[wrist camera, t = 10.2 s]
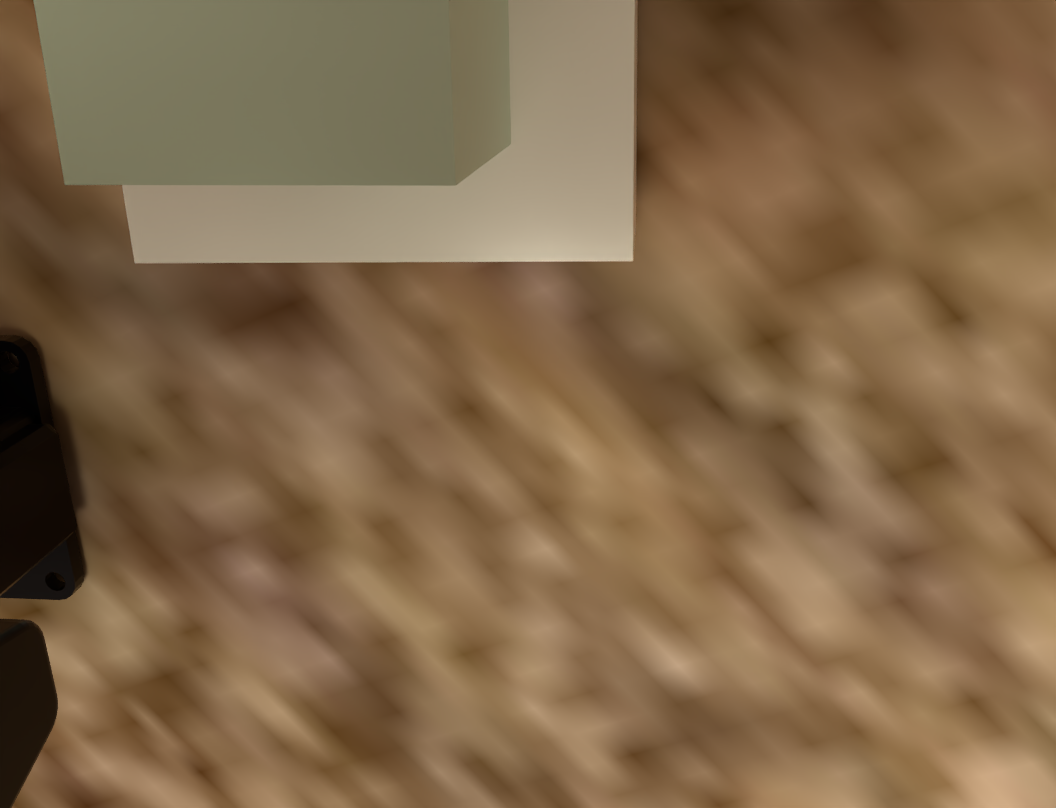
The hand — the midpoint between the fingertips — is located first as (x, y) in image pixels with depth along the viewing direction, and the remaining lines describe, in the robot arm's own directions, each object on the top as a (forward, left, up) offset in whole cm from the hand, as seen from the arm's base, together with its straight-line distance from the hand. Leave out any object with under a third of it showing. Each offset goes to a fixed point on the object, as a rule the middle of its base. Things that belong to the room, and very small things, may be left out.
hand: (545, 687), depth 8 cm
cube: (-4, +6, -10) cm, 12 cm away
